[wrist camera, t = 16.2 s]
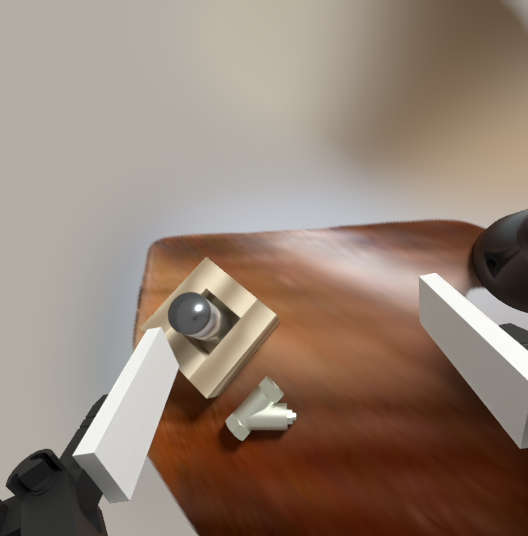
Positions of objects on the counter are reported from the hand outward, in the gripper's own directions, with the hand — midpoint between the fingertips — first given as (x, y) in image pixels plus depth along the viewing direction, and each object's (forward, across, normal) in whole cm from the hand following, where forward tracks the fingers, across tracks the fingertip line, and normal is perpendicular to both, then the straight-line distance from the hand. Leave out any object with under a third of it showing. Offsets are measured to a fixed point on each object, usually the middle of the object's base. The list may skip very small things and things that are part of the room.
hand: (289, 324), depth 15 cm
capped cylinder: (+25, -13, -16) cm, 33 cm away
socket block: (+26, -13, -17) cm, 34 cm away
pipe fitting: (+17, -8, -27) cm, 33 cm away
